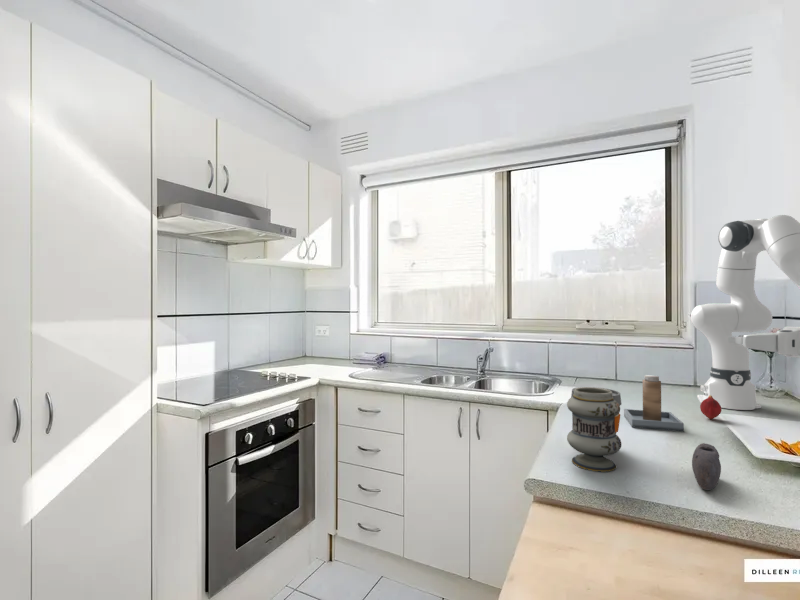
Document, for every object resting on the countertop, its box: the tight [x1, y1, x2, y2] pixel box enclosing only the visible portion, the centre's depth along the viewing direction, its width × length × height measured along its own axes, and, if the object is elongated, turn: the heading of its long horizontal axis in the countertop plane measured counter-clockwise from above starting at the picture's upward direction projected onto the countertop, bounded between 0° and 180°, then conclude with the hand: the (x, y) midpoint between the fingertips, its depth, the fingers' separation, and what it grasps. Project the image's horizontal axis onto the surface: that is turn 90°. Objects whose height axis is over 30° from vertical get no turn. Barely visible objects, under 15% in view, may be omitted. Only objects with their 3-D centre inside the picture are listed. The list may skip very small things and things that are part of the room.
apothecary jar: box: [566, 386, 622, 473], centre depth 104 cm, size 12×12×18 cm
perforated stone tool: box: [691, 442, 722, 491], centre depth 93 cm, size 15×5×7 cm, turn 142°
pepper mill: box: [642, 374, 662, 421], centre depth 138 cm, size 5×5×14 cm
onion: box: [699, 395, 722, 420], centre depth 143 cm, size 6×6×8 cm
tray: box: [623, 408, 685, 433], centre depth 138 cm, size 14×14×2 cm
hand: (734, 338), depth 133 cm, fingers open, 8 cm apart
